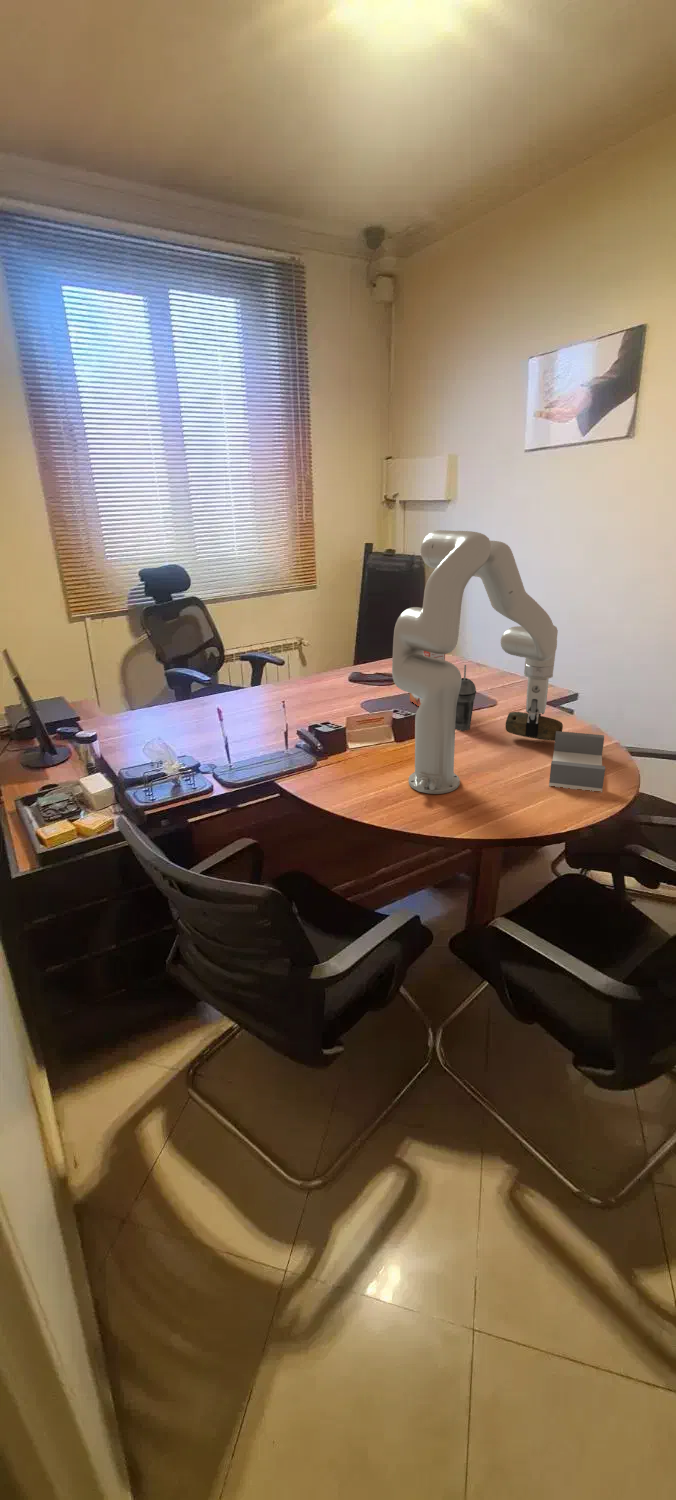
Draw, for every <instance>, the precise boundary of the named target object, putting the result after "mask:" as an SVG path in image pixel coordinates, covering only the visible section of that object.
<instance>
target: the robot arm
mask: <svg viewBox="0 0 676 1500" xmlns="http://www.w3.org/2000/svg"><path fill="white" fill-rule="evenodd" d="M420 555H421V558H422V561H423V562H424V564H425V565H426V566H427V567H429V568H431V569H434V570H433V572H431V574H430V575H429V577H428V579H427V581H426V583H425V586H424V592H423V599H422V601H423V602H422V607H418V606H413V607H409V608H406V609H405V610H403V611H402V612H401V613H400V615H399V616H398V617H397V619H396V622H395V624H394V625H395V626H394V628H393V629H394V630H393V643H392V660H391V664H392V665H391V674H392V675H391V676H392V681H393V683H394V684H395V686H396V687H397V688H398V689H399V690H401V691H404V692H405V693H409V694H410V693H412V694H415V695H418V696H420V697H422V698H423V700H422V703H421V705H420V706H419V707H417V709H416V713H415V716H414V717H415V720H414V747H415V748H414V772H412V773H411V774H410V775H409V776H408V785H409V786H410V788H411V789H413V790H416V791H417V792H420V793H424V794H429V795H430V794H431V795H440V794H441V795H442V794H448V793H450V792H453V791H455V790H457V788H459V786H460V783H461V780H460V777H459V776H458V775H457V774H456V773H455V746H456V745H455V743H456V742H455V740H456V729H455V718H456V705H457V699H458V695H459V691H460V687H461V678H462V674H461V671H460V670H459V668H458V667H457V665H455V664H454V663H452V662H450V661H448V660H446V659H445V660H442V659H438V658H434V657H428V656H424V651H427V652H431V653H436V654H445V655H447V654H450V653H452V652H453V651H454V650H455V648H456V647H457V645H458V641H459V635H460V624H461V614H462V612H461V611H462V603H463V597H464V591H465V589H466V586H467V585H468V583H469V582H470V580H471V579H472V578H473V577H476V578H480V579H481V581H482V584H483V585H484V589H485V591H486V594H487V597H488V600H489V602H490V605H491V607H492V608H493V610H494V611H496V612H497V613H499V614H501V616H504V617H505V618H507V619H509V620H510V621H513V623H516V624H517V625H516V626H512V627H509V628H507V629H506V630H504V632H503V634H501V638H500V646H501V649H502V650H503V652H505V653H506V654H507V655H511V656H516V657H519V658H524V659H525V661H524V669H523V670H524V671H523V676H524V677H526V678H527V685H526V686H527V688H526V703H525V705H526V706H525V713H528V720H527V723H526V733H525V735H526V736H530V737H537V735H538V726H539V723H538V717H539V716H542V715H544V714H545V713H546V709H547V701H548V700H547V699H548V693H549V692H548V691H549V679H552V678H553V676H554V668H555V661H556V651H557V646H558V631H559V630H558V628H557V626H556V625H554V624H553V623H554V622H553V621H552V619H551V617H550V615H549V614H548V612H547V611H546V610H545V609H544V608H543V607H542V606H541V604H539V603H538V602H537V601H536V600H535V599H534V598H533V597H532V596H531V595H529V594H528V592H527V591H526V590H525V586H524V583H523V580H522V578H521V575H520V574H521V573H520V572H519V568H518V565H517V562H516V560H515V556H514V553H513V551H512V548H511V547H510V546H509V545H508V544H507V543H505V542H503V541H498V540H490V538H489V537H488V536H487V535H485V533H481V532H478V531H470V530H446V529H445V530H443V529H438V530H434V531H431V532H429V533H427V535H425V537H424V538H423V540H422V542H421V547H420ZM535 715H537V716H535Z"/></svg>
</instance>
